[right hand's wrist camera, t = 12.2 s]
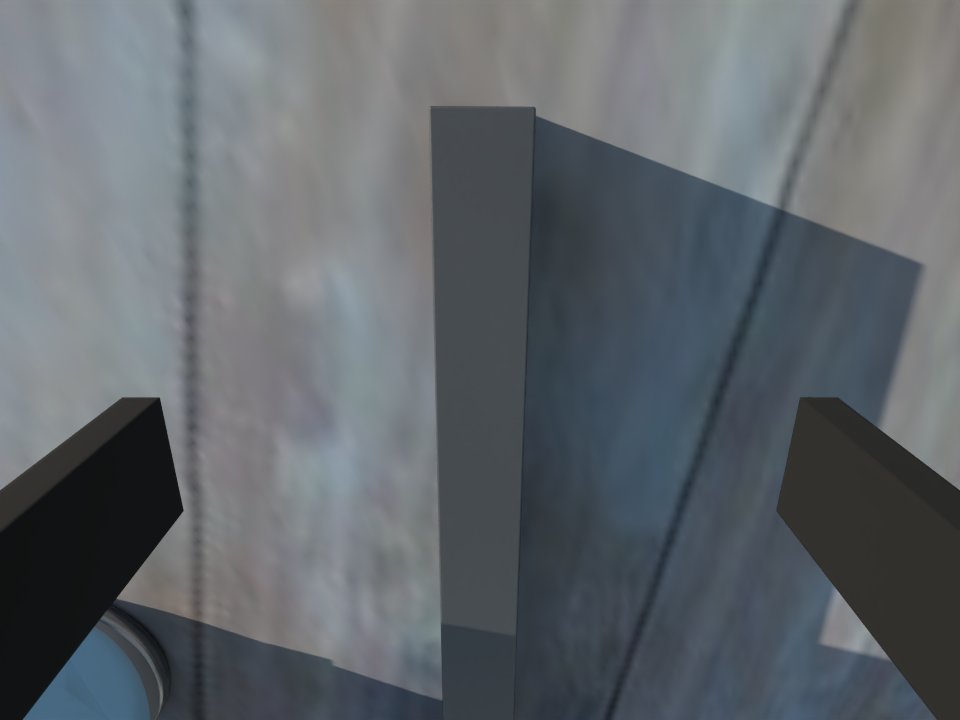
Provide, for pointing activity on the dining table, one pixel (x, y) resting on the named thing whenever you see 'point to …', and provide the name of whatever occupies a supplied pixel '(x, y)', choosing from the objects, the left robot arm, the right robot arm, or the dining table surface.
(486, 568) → the plank
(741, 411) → the dining table surface
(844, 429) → the right robot arm
